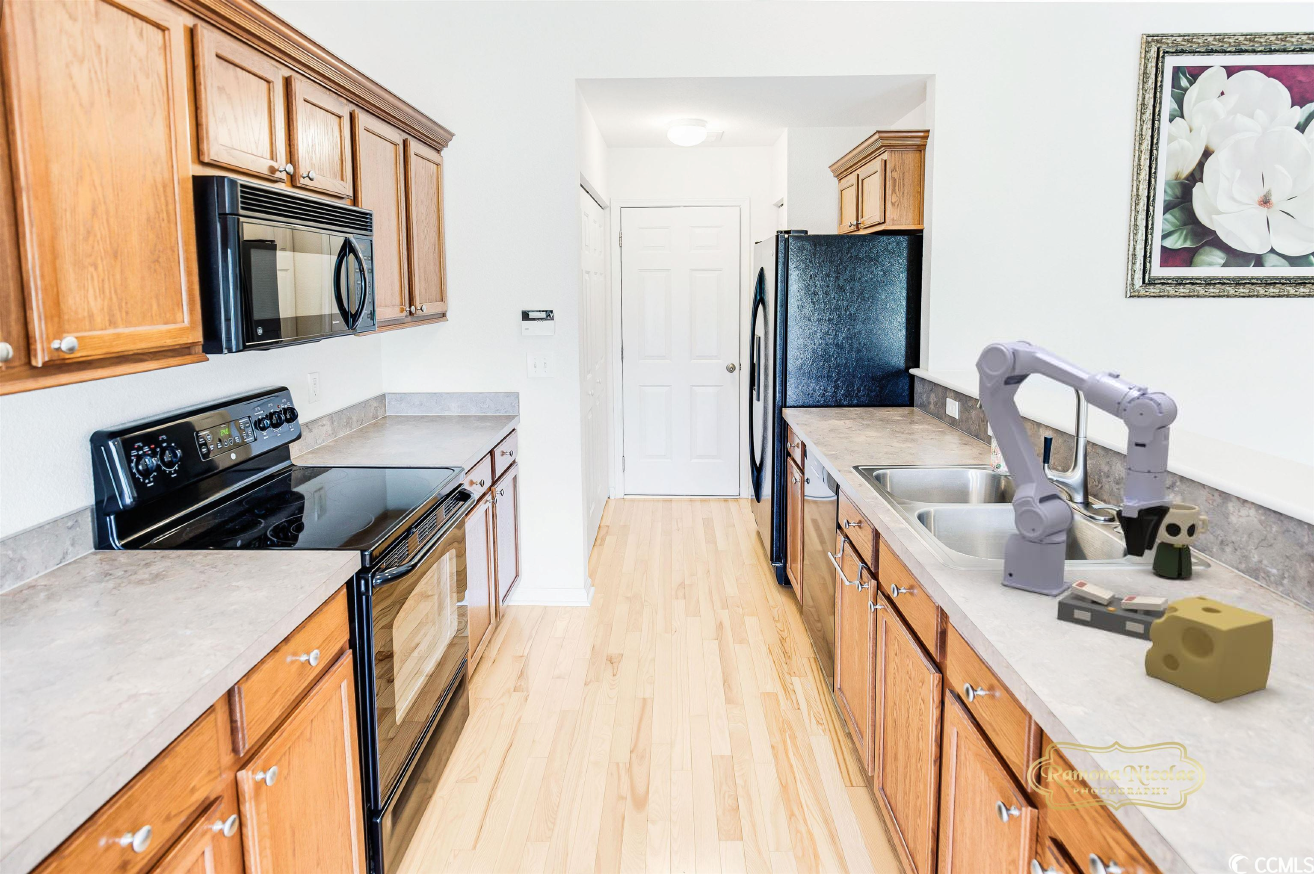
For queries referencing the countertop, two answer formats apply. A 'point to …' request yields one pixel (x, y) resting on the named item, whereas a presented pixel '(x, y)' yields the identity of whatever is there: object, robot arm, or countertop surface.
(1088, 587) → the rocker
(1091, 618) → the double switch panel
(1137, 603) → the rocker
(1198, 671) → the cheese
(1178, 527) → the character mug
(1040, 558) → the robot arm
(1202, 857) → the countertop surface
